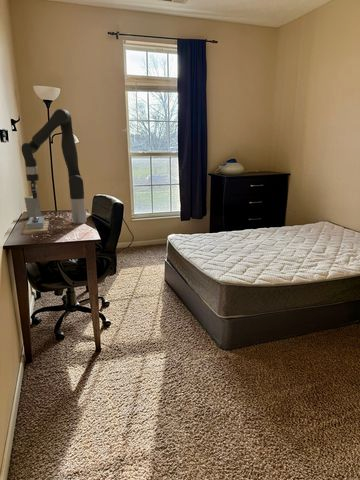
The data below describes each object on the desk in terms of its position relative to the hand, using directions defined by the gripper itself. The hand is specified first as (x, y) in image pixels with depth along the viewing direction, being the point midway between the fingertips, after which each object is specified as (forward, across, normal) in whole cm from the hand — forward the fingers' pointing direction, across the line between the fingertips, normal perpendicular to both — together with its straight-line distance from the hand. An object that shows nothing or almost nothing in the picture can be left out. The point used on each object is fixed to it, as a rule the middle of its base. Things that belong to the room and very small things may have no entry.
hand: (35, 197), depth 224 cm
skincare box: (+18, -20, -4) cm, 27 cm away
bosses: (+16, +18, 0) cm, 24 cm away
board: (+18, +17, 0) cm, 25 cm away
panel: (+16, +15, 0) cm, 22 cm away
